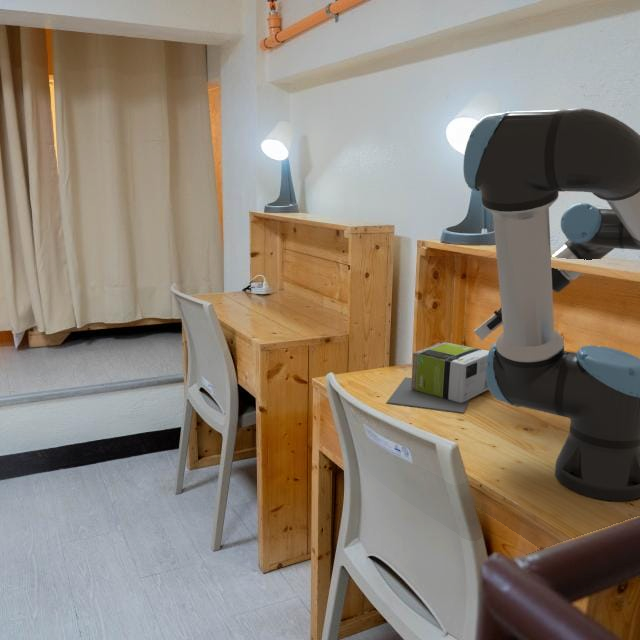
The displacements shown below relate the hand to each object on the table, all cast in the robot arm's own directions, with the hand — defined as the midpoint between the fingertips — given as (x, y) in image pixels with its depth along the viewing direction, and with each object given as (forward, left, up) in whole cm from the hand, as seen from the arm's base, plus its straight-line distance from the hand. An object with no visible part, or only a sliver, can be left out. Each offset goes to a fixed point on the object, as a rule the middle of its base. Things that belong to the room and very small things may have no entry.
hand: (478, 335), depth 148 cm
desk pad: (0, +10, -16) cm, 19 cm away
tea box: (+2, -1, -11) cm, 11 cm away
